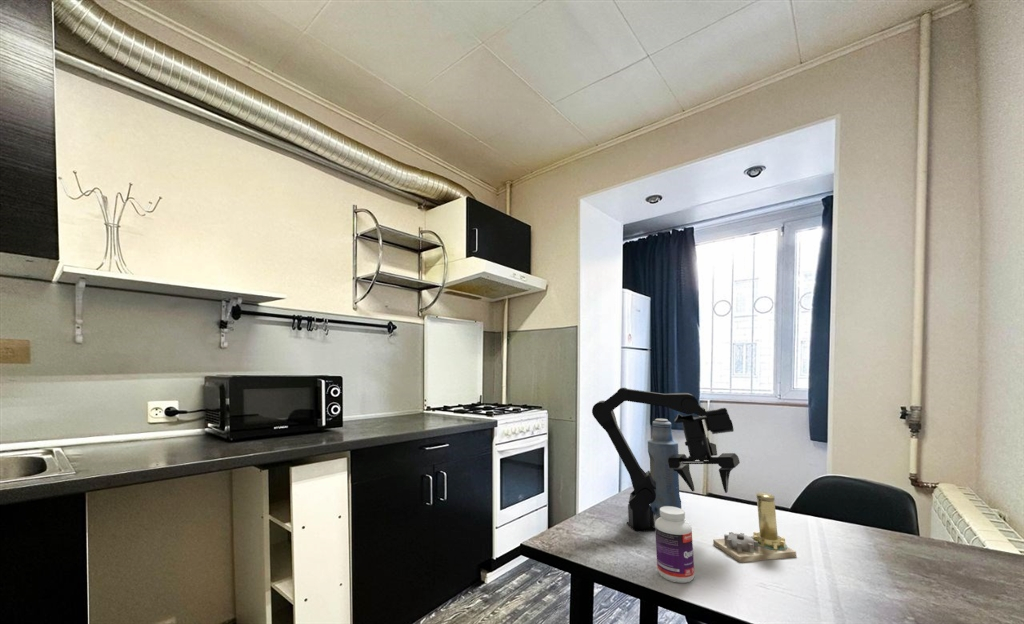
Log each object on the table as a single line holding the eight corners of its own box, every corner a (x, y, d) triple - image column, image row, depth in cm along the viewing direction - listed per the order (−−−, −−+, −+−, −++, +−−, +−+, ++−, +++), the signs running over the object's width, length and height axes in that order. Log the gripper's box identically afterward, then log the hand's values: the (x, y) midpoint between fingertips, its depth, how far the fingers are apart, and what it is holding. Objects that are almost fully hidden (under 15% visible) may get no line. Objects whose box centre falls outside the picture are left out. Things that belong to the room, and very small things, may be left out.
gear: (778, 552, 101) (773, 502, 102) (747, 541, 107) (744, 494, 108) (791, 544, 105) (786, 496, 106) (761, 534, 111) (757, 489, 112)
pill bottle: (692, 589, 87) (687, 519, 89) (654, 578, 91) (650, 512, 93) (697, 572, 94) (693, 507, 96) (661, 563, 98) (658, 502, 100)
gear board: (739, 562, 99) (738, 545, 99) (713, 544, 108) (712, 529, 109) (799, 556, 101) (797, 540, 102) (768, 539, 111) (767, 524, 112)
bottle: (647, 506, 137) (642, 417, 141) (677, 507, 136) (671, 417, 140) (654, 517, 128) (649, 421, 132) (686, 518, 127) (680, 421, 131)
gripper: (737, 428, 118) (752, 484, 115) (675, 432, 130) (687, 482, 127) (726, 437, 109) (742, 496, 107) (661, 439, 122) (673, 493, 119)
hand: (709, 491), depth 115 cm, fingers open, 9 cm apart
